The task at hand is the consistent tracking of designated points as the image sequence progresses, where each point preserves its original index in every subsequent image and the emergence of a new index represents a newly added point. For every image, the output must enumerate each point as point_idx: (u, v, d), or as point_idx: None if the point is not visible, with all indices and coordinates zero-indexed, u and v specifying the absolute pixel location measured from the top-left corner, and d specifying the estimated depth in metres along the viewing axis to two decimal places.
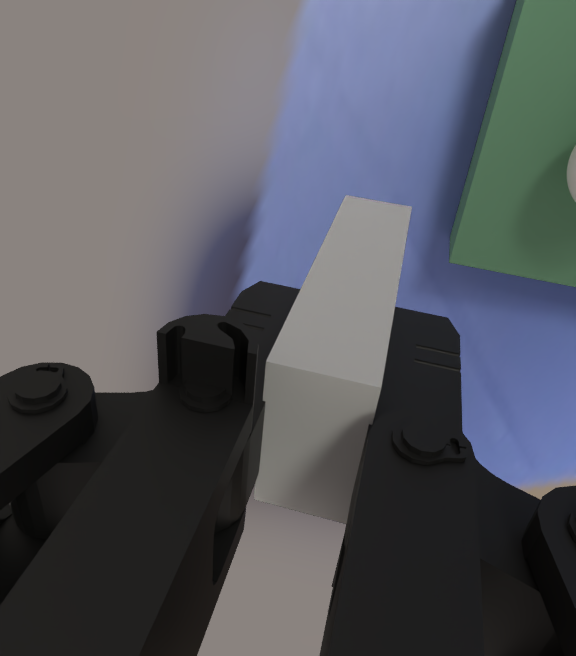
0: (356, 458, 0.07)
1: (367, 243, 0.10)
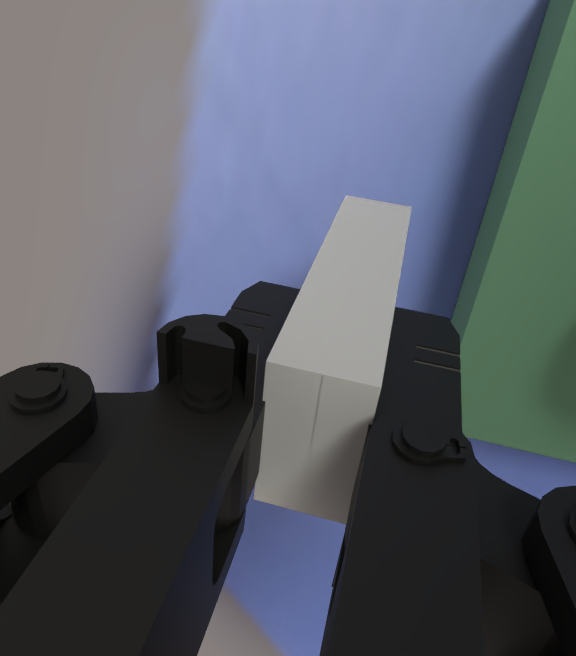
0: (356, 458, 0.07)
1: (367, 243, 0.10)
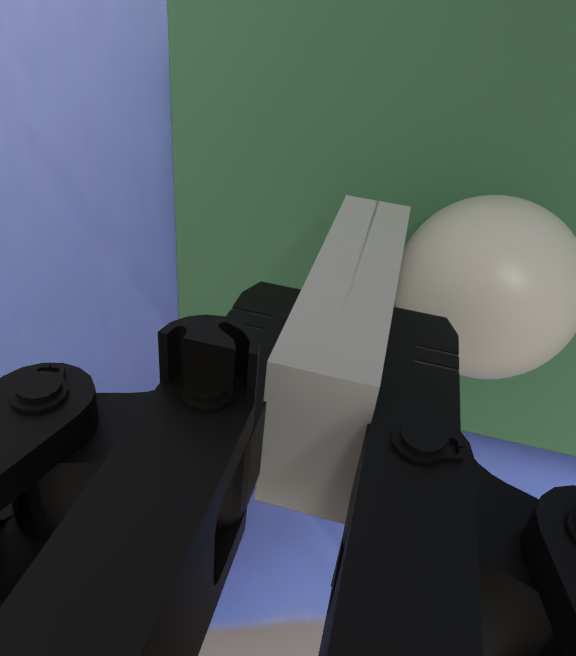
0: (355, 458, 0.07)
1: (366, 243, 0.10)
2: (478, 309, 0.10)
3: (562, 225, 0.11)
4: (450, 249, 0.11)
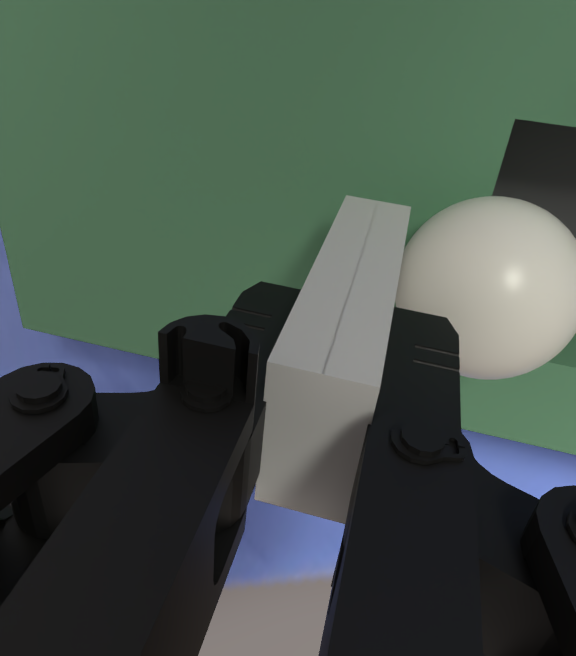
0: (355, 458, 0.07)
1: (366, 243, 0.10)
2: None
3: (477, 197, 0.12)
4: None
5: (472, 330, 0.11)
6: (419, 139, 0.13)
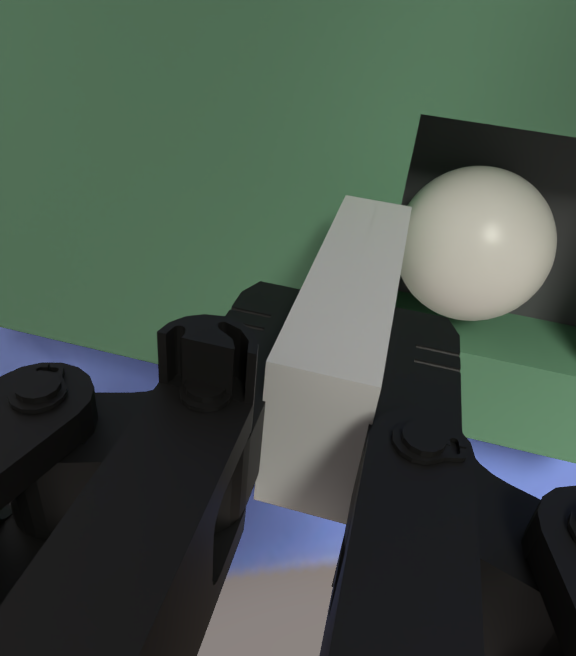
0: (356, 458, 0.07)
1: (367, 243, 0.10)
2: None
3: (458, 179, 0.13)
4: None
5: (550, 267, 0.14)
6: (332, 133, 0.13)
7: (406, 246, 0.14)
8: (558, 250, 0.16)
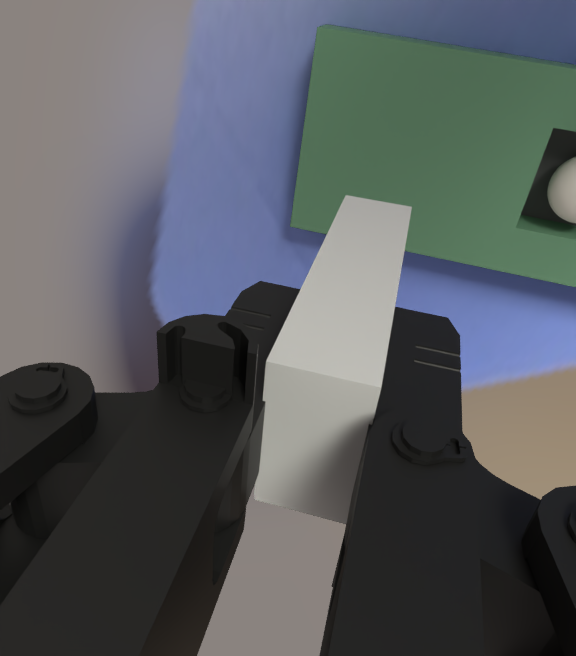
0: (356, 458, 0.07)
1: (367, 243, 0.10)
2: (554, 172, 0.33)
3: None
4: None
5: None
6: (513, 134, 0.31)
7: None
8: None
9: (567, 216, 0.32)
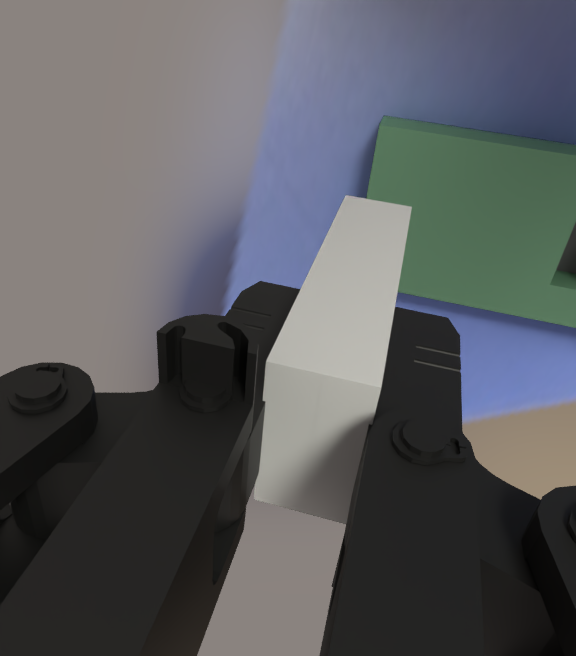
0: (356, 458, 0.07)
1: (367, 243, 0.10)
2: None
3: None
4: None
5: None
6: (548, 210, 0.37)
7: None
8: None
9: None
